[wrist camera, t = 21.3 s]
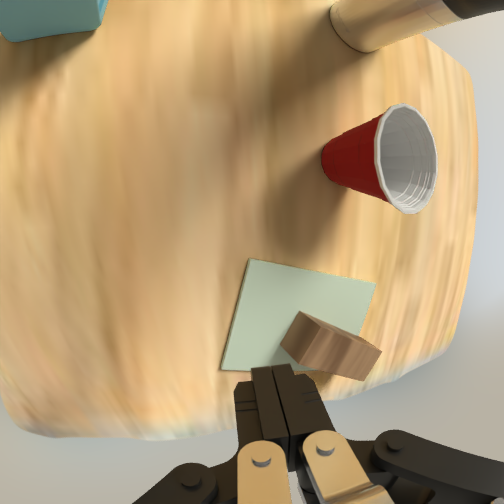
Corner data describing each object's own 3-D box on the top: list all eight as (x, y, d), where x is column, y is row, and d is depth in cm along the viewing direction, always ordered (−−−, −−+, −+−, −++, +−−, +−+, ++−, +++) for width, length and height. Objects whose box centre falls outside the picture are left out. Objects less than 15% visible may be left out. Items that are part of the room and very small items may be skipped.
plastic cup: (365, 211, 37) (436, 224, 27) (296, 194, 33) (368, 201, 22) (376, 135, 36) (446, 128, 25) (311, 107, 32) (381, 83, 21)
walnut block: (298, 364, 32) (363, 381, 37) (321, 326, 31) (382, 351, 37) (279, 344, 36) (343, 365, 41) (299, 310, 36) (360, 337, 41)
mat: (220, 367, 34) (221, 369, 34) (249, 257, 33) (251, 259, 32) (343, 367, 42) (345, 368, 42) (373, 282, 41) (376, 283, 40)
